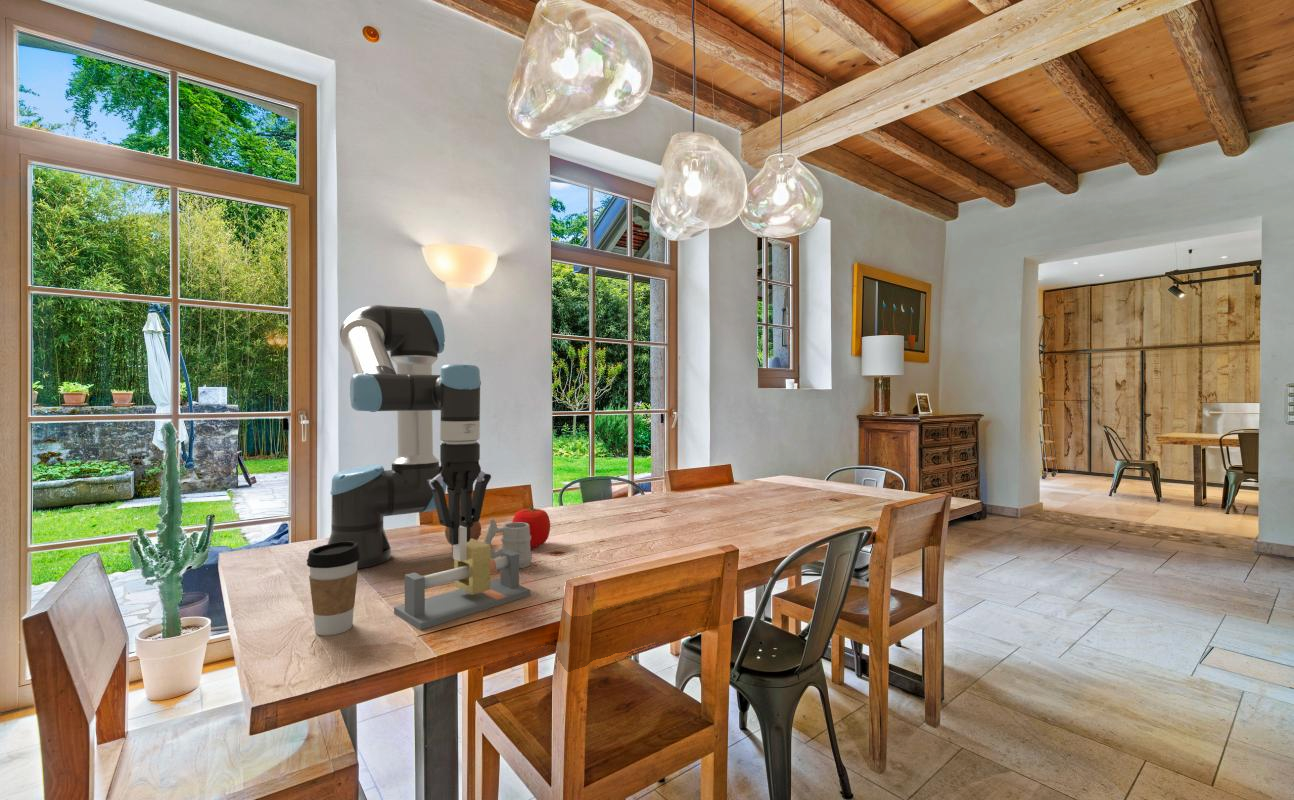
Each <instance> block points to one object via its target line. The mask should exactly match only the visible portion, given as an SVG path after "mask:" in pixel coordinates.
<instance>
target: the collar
mask: <svg viewBox="0 0 1294 800" xmlns="http://www.w3.org/2000/svg"><path fill="white" fill-rule="evenodd" d="M491 548H492V544H491V545H489V544H486V543H484V541H480V540H479V539H477V540H475V539H472V538H471V539H470V541H469V542H467V560H464V561H458V560H455V559H453V560H454V561H453V567H454V568H459V567H463V566H467V565H469V578H465V579H461V580H457V581H453V586H454V588H457V589H461V590H464V591H466V592H468V593H470V594H472V595H474V594H477V593H481V592H484V591H488V590H490V581H491V573H490V556H491ZM454 568H453V569H454Z"/></svg>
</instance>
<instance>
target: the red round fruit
mask: <svg viewBox="0 0 1294 800" xmlns="http://www.w3.org/2000/svg"><path fill="white" fill-rule="evenodd" d="M515 522H523V523H528V524H529V528H530V535H531V540H530V549H533V548H534V549H535V548H537V547H539V546H542V545H543V544H545V543H546V541H548V538H549V535H550V531H551V521H550V517H549V514H548V513H547V511H546V510H543V509H541V508H540V509H538V508H536V507H535V508H533V507H530V508H523V509H520V510H518V511H517V512H516V513H515V514H514V516H513V519H512V521H511V523H515Z"/></svg>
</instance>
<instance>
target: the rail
mask: <svg viewBox="0 0 1294 800" xmlns="http://www.w3.org/2000/svg"><path fill="white" fill-rule="evenodd" d="M499 570H500V577H499V578H496V579H490V590H488V591H484V592H481V593H477V594H474V595H472V594H470V593H468V592H466V591H464V590H461V589H459V588H457V589H454V590H451V591H448V592H445V593H441V594H436V595H434V596H430V597H426V594H425V593H426V591H425V590H427V589H429V588H433V587H439V586H441V585H445V584H449V583H454V581H457V580H461V579H465V578H469V565H467V566H463V567H459V568H451V569H447V570H443V571H439V572H435V573H430V574H425V575H421V574H419V573H417V572H411V573H407V574H404V604H400V605H397V606H396V605H395V606H394V607H393V613H394V614H395V616H398V617H400V618H401V619H403V620H404V621H405V622H407V623H408V624H410V625H411V626H413V627H415V628H416V629H417V630H420V631H422V630H425V629H428V628H431V627H435V626H437V625H440V624H441V625H442V624H444V623H447V622H451V621H454V620H457V619H460V618H464V617H466V616H469V615H472V614H476V613H478V612H482V611H485V610H488V609H493V608H494V607H498V606H501V605H505V604H506V603H507V604H508V603H510V602H514V601H517V600H521V599H524V598H526V597H530V596H531V594H532V593H531V592H532V590H531V589H530V588H527V587H525V586H523V585H520V568H519V554H518V553H515V552H512V551H510V550H507V551H503V552H501V556H499V557H497V558H495V559H492V558H491V559H490V574H491V573H494V572H495V571H499ZM425 597H426V598H425Z"/></svg>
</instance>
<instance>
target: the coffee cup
mask: <svg viewBox="0 0 1294 800" xmlns="http://www.w3.org/2000/svg"><path fill="white" fill-rule="evenodd" d="M359 556H360V553H359V549H358V543H357V542H354V541H341V542H336V543H331V544H328V543H326V544H324V545H319V546H317V547H314V548H312V549H310V550H309V552H308V557H307V559H306V566H307V567H309V573H310V575H309V579H308V580H309V586H310V588H309V589H310V595H311V596H310V597H311V604H312V605H311V606H312V613H313V619H314V623H313V624H314V632H315V634H316V635H319V636H322V637H323V636H327V637H329V636H334V635H339V634H342V633H345V632H347V631H349V630H351V628H353V624H354V623H353V622H354V610H355V602H356V601H355V600H356V593H357V592H356V591H357V583H358V574H359V573H358V571H359V570H358V569H359V568H358V569H357V561H358V560H359V559H360V557H359Z"/></svg>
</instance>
